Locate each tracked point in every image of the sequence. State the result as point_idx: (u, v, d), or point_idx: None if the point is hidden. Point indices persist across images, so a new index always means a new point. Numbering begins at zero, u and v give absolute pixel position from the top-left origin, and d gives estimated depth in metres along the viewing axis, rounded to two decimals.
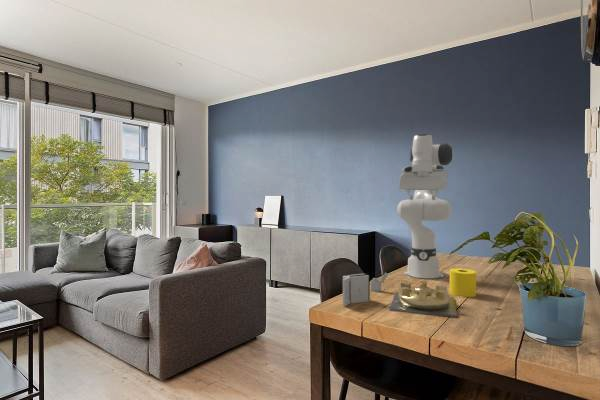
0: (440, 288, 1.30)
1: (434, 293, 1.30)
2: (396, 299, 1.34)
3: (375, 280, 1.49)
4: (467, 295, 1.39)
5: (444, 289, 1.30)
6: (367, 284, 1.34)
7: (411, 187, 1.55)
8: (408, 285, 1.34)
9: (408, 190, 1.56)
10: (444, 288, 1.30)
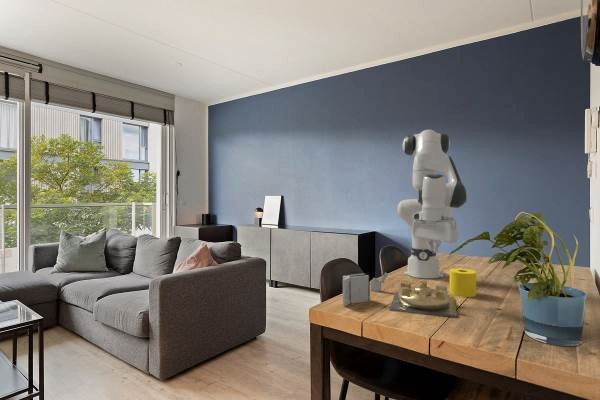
0: (440, 288, 1.30)
1: (434, 293, 1.30)
2: (396, 299, 1.34)
3: (375, 280, 1.49)
4: (467, 295, 1.39)
5: (444, 289, 1.30)
6: (367, 284, 1.34)
7: (421, 236, 1.38)
8: (408, 285, 1.34)
9: (428, 240, 1.36)
10: (444, 288, 1.30)
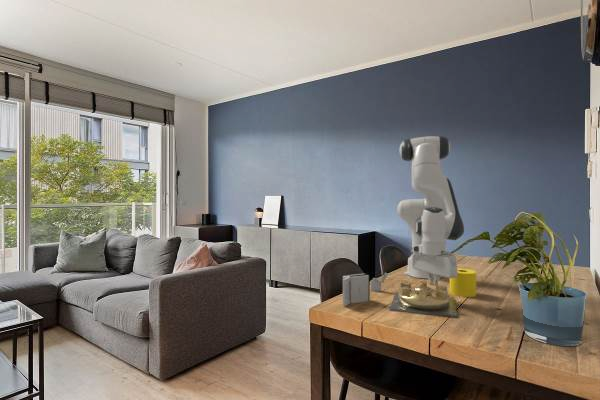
0: (440, 288, 1.30)
1: (434, 293, 1.30)
2: (396, 299, 1.34)
3: (375, 280, 1.49)
4: (467, 295, 1.39)
5: (444, 289, 1.30)
6: (367, 284, 1.34)
7: (421, 269, 1.38)
8: (408, 285, 1.34)
9: (428, 273, 1.36)
10: (444, 288, 1.30)
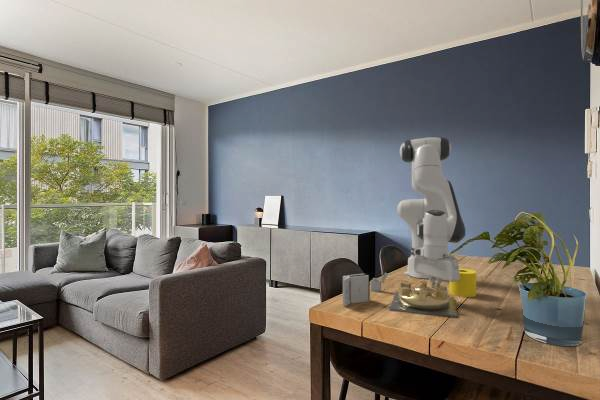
0: (440, 288, 1.30)
1: (434, 293, 1.30)
2: (396, 299, 1.34)
3: (375, 280, 1.49)
4: (467, 295, 1.39)
5: (444, 289, 1.30)
6: (367, 284, 1.34)
7: (423, 272, 1.37)
8: (408, 285, 1.34)
9: (429, 276, 1.35)
10: (444, 288, 1.30)
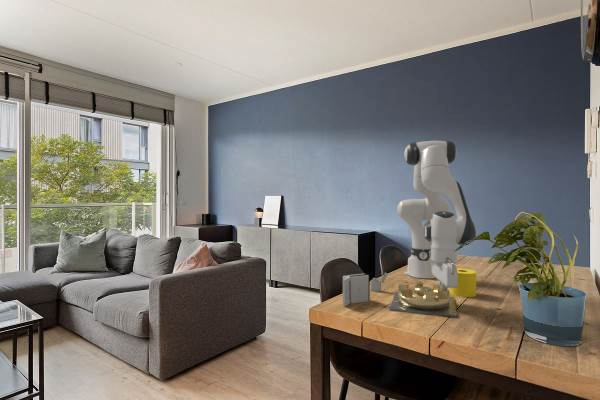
0: (439, 291, 1.25)
1: (434, 296, 1.27)
2: (396, 299, 1.34)
3: (375, 280, 1.49)
4: (467, 295, 1.39)
5: (444, 293, 1.24)
6: (367, 284, 1.34)
7: (435, 275, 1.33)
8: (418, 284, 1.36)
9: (439, 280, 1.29)
10: (444, 292, 1.24)
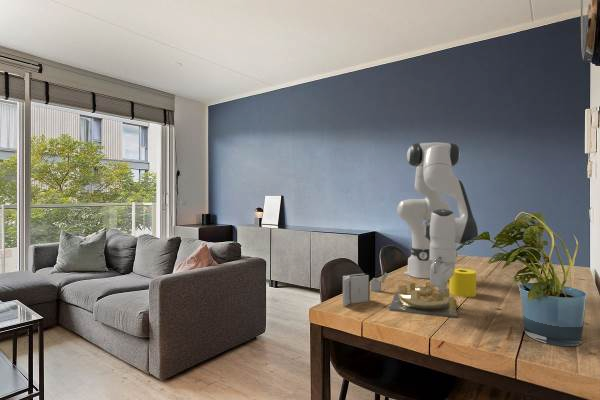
0: (432, 293, 1.24)
1: (430, 297, 1.26)
2: (396, 299, 1.34)
3: (375, 280, 1.49)
4: (467, 295, 1.39)
5: (435, 295, 1.22)
6: (367, 284, 1.34)
7: None
8: (427, 285, 1.35)
9: None
10: (435, 294, 1.22)
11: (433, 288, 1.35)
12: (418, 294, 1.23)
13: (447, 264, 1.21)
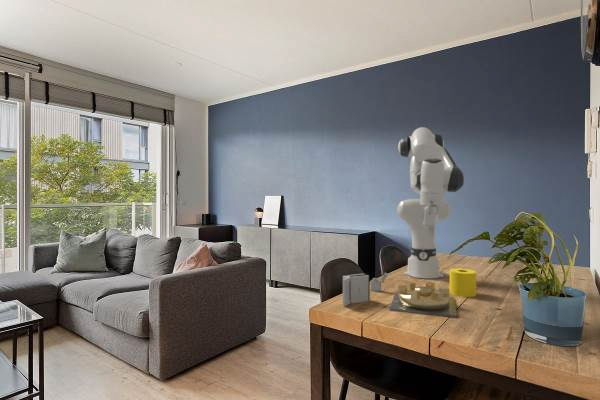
0: (432, 293, 1.24)
1: (430, 297, 1.26)
2: (396, 299, 1.34)
3: (375, 280, 1.49)
4: (467, 295, 1.39)
5: (435, 295, 1.22)
6: (367, 284, 1.34)
7: None
8: (427, 285, 1.35)
9: None
10: (435, 294, 1.22)
11: (433, 288, 1.35)
12: (418, 294, 1.23)
13: (437, 207, 1.32)
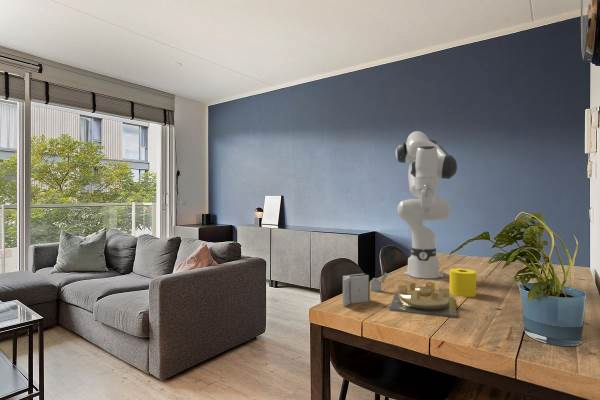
0: (432, 293, 1.24)
1: (430, 297, 1.26)
2: (396, 299, 1.34)
3: (375, 280, 1.49)
4: (467, 295, 1.39)
5: (435, 295, 1.22)
6: (367, 284, 1.34)
7: None
8: (427, 285, 1.35)
9: None
10: (435, 294, 1.22)
11: (433, 288, 1.35)
12: (418, 294, 1.23)
13: (432, 191, 1.38)
